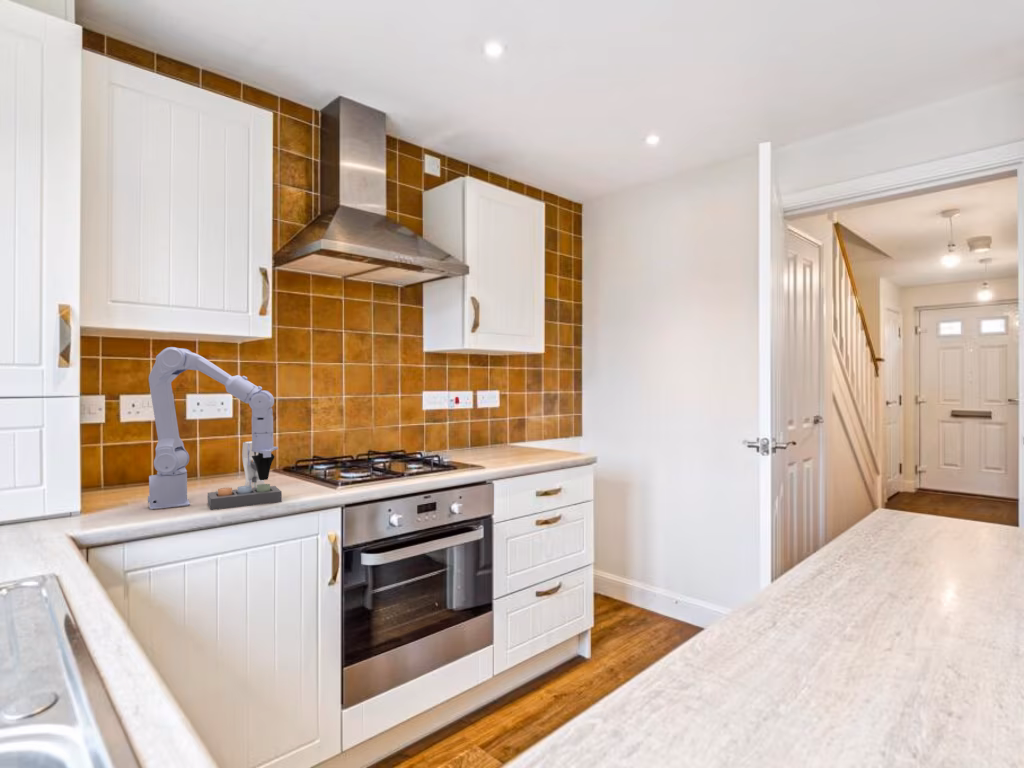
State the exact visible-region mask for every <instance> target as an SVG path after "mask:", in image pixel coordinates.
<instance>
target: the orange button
mask: <svg viewBox="0 0 1024 768" xmlns="http://www.w3.org/2000/svg"><path fill="white" fill-rule="evenodd" d="M232 490H233V487H221V488H220V487H219V488H217V492H218V496H226V495H232Z"/></svg>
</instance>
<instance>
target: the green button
mask: <svg viewBox="0 0 1024 768" xmlns="http://www.w3.org/2000/svg"><path fill="white" fill-rule="evenodd" d="M270 486H271V484H270V483H265V484H259V485H257V492H264V491H270Z"/></svg>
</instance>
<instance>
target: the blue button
mask: <svg viewBox="0 0 1024 768" xmlns="http://www.w3.org/2000/svg"><path fill="white" fill-rule="evenodd" d="M237 490H238V494H245V493H252V486H245V485H240V486H238V487H237Z"/></svg>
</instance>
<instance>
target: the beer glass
mask: <svg viewBox="0 0 1024 768" xmlns="http://www.w3.org/2000/svg"><path fill="white" fill-rule="evenodd" d="M251 449H252V440H249V441H243V442H242V452H241V453H242V454H241V456H242V457H241V458H242V465H243V470H244V477H245V484H244V486H252V488H257V485H259V484H266V483H265V480H259V477H258V472H257V468H256V464H255V462H254V460H253V458H252V456H255V455H258V452H252V451H251Z"/></svg>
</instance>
